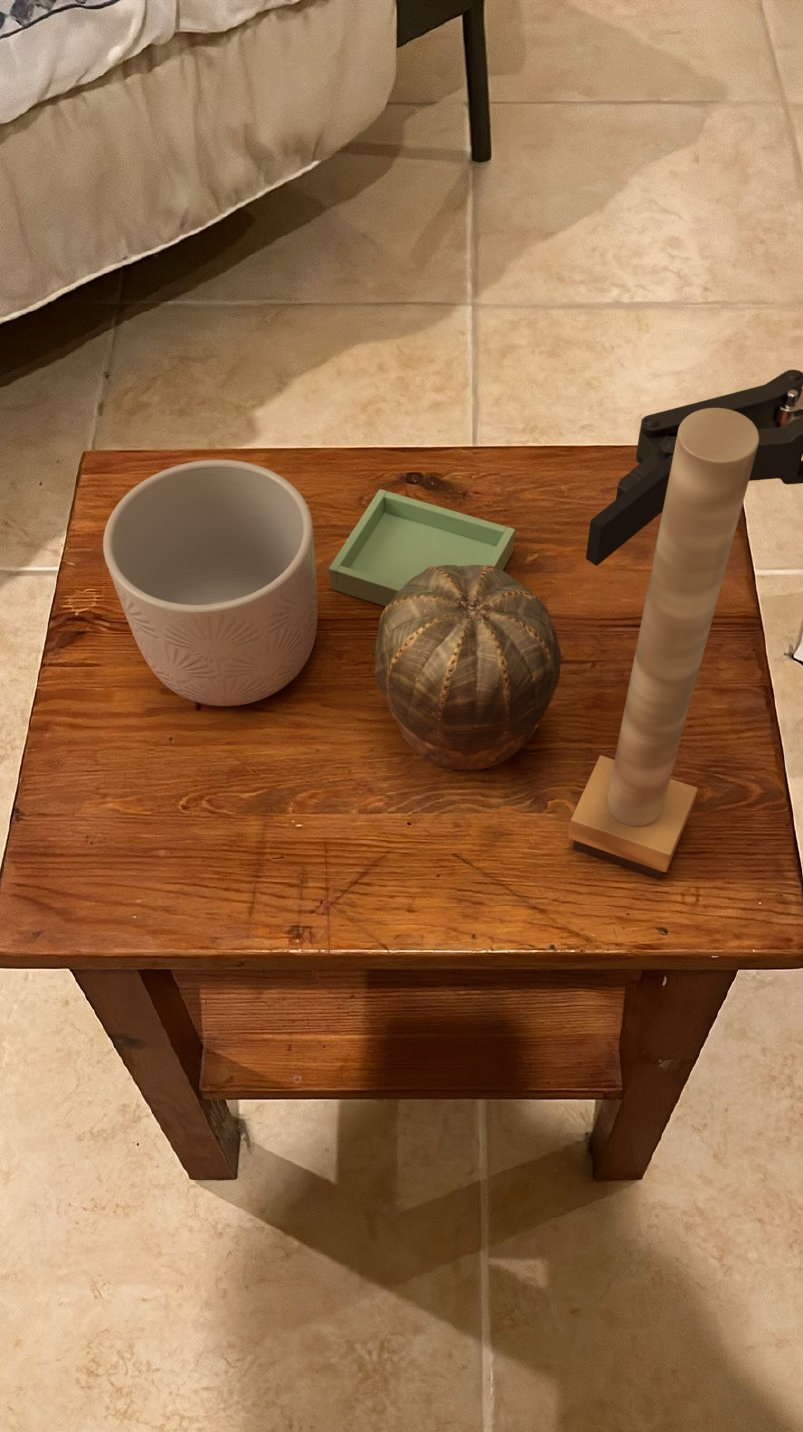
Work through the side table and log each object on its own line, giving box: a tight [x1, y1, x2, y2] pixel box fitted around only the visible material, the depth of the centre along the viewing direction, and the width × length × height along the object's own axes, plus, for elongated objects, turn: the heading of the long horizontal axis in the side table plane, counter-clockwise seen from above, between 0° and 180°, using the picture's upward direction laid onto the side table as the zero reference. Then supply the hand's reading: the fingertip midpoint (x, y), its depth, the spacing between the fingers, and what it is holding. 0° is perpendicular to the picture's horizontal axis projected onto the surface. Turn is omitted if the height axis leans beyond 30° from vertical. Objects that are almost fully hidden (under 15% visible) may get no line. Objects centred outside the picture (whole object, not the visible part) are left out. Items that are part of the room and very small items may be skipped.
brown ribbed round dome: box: [373, 565, 562, 771], centre depth 76 cm, size 11×11×12 cm
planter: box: [102, 459, 319, 707], centre depth 80 cm, size 12×12×11 cm
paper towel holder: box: [568, 408, 759, 880], centre depth 64 cm, size 6×5×30 cm
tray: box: [328, 488, 516, 607], centre depth 88 cm, size 10×8×2 cm
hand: (699, 613), depth 63 cm, fingers open, 13 cm apart
